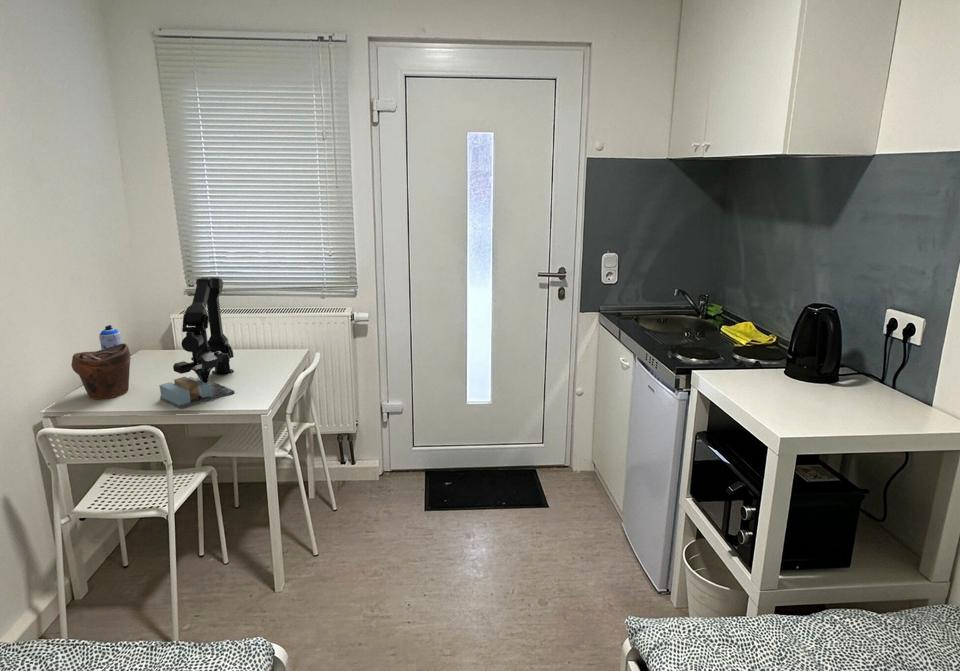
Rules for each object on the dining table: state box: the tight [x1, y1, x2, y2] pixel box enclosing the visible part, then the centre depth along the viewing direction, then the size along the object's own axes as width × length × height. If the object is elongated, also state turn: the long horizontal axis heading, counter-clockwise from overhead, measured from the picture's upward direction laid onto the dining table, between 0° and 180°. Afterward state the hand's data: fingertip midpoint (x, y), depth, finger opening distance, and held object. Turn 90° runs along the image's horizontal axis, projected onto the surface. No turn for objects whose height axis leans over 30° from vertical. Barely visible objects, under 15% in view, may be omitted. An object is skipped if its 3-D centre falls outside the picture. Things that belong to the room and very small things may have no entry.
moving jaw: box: [187, 376, 211, 398], centre depth 229 cm, size 14×3×4 cm, turn 50°
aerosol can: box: [99, 324, 123, 350], centre depth 255 cm, size 8×8×20 cm
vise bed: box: [159, 381, 235, 410], centre depth 230 cm, size 16×20×1 cm
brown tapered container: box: [71, 342, 132, 400], centre depth 231 cm, size 18×20×18 cm
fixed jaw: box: [158, 381, 190, 406], centre depth 223 cm, size 14×4×4 cm, turn 50°
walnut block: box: [173, 376, 199, 400], centre depth 226 cm, size 4×9×6 cm, turn 50°
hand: (205, 384), depth 232 cm, fingers closed
